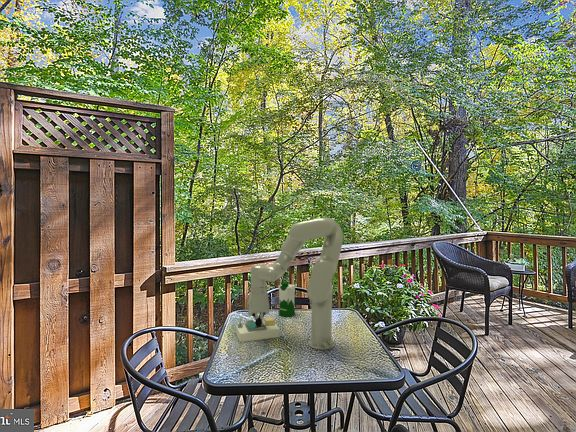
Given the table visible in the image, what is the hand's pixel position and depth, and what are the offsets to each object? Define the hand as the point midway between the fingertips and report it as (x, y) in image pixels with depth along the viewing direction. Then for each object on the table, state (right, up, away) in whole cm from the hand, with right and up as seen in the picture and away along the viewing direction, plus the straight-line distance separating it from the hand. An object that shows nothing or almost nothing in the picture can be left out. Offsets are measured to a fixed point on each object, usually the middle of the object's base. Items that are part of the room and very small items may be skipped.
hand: (258, 326), depth 163 cm
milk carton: (+14, -5, +34) cm, 37 cm away
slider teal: (-3, -1, -1) cm, 4 cm away
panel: (-1, -5, +2) cm, 6 cm away
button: (+5, -4, +7) cm, 9 cm away
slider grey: (-5, -1, +4) cm, 6 cm away
